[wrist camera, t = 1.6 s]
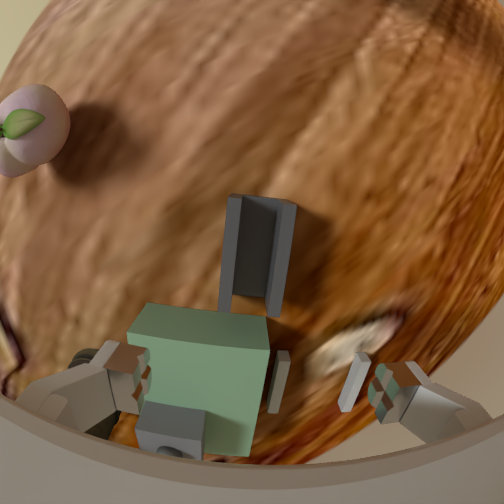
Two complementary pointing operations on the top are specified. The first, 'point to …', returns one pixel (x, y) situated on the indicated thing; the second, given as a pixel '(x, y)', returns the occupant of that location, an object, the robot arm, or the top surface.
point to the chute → (256, 250)
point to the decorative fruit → (31, 129)
